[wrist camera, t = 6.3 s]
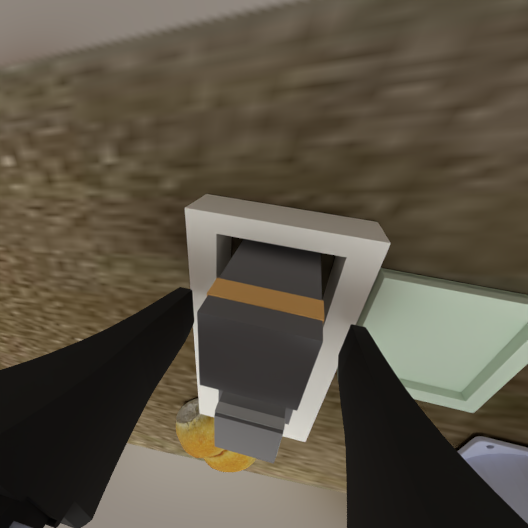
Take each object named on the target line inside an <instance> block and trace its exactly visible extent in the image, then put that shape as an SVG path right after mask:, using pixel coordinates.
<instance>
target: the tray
mask: <svg viewBox="0 0 528 528" xmlns="http://www.w3.org/2000/svg"><path fill="white" fill-rule="evenodd" d="M356 325H358V326H363V327H366V328H367V330H368V331H369V333H370V335H371V336H372V338H373V340H374V341H375V343H376V344H377V346H378V348H379V349H380V351H381V352H382V354H383V356H384V357H385V359H386V360H387V362H388V363H389V365H390V366H391V368H392V369H393V371H394V372H395V374H396V375H397V377H398V378H399V380H400V381H401V383H402V384H403V385H404V387H405V388H406V390H407V391H408V392H409V394H410V395H411V396H412V398H413V399H416V400H420V401H425V402H429V403H433V404H437V405H441V406H445V407H450V408H454V409H458V410H462V411H466V412H470V413H474V412H475V411H476V410H478V409H479V408H480V407H481V406H482V405H483V404H484V403H485V402H486V401H487V400H488V399H490V398H491V397H492V396H493V395H494V394H495V393H496V392H497V391H498V390H499V389H500V388H502V387H503V386H504V385H505V384H506V383H507V382H508V381H509V380H510V379H511V378H513V377H514V376H515V375H516V374H517V373H518V372H519V371H520V370H521V369H522V368H523V367H525V366H526V365H527V364H528V295H526V294H520V293H515V292H509V291H504V290H499V289H493V288H488V287H482V286H477V285H471V284H466V283H461V282H455V281H450V280H444V279H439V278H433V277H428V276H423V275H417V274H412V273H406V272H401V271H395V270H390V269H385V268H380V270H379V272H378V274H377V277H376V279H375V281H374V284H373V286H372V288H371V291H370V293H369V295H368V298H367V300H366V302H365V305H364V307H363V309H362V311H361V314H360V316H359V318H358V321H357V323H356ZM337 375H338V367H337Z"/></svg>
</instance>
